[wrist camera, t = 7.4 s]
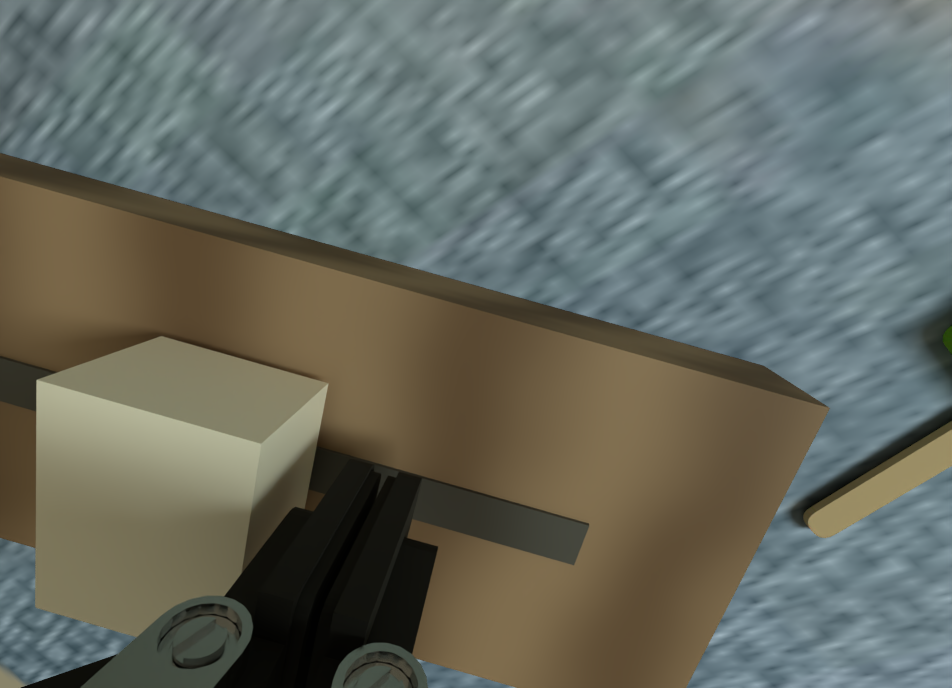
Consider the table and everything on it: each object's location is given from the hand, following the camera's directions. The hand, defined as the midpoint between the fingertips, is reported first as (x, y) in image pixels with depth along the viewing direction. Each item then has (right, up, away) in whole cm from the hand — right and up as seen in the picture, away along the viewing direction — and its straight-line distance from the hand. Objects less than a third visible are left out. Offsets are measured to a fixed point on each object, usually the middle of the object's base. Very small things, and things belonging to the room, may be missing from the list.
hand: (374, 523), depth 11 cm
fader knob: (-4, +1, +1) cm, 4 cm away
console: (-4, +3, +4) cm, 7 cm away
